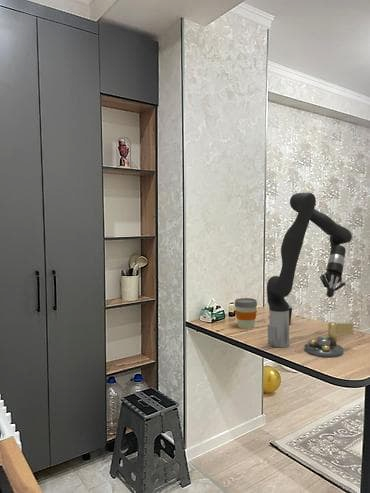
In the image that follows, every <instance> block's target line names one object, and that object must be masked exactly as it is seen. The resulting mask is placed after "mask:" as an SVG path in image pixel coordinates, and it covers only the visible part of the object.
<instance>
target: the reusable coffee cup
mask: <svg viewBox="0 0 370 493" xmlns="http://www.w3.org/2000/svg"><path fill="white" fill-rule="evenodd" d="M257 306H258V302H257V299H255V298H250V297H249V298H247V297H242V298H236V299H234V307H235V318H236V319H237V325H238V328H240V329H245V330H247V329H249V330H250V329H253V328H255V322H256V319H257V313H258V312H257V311H258V310H257Z"/></svg>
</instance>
